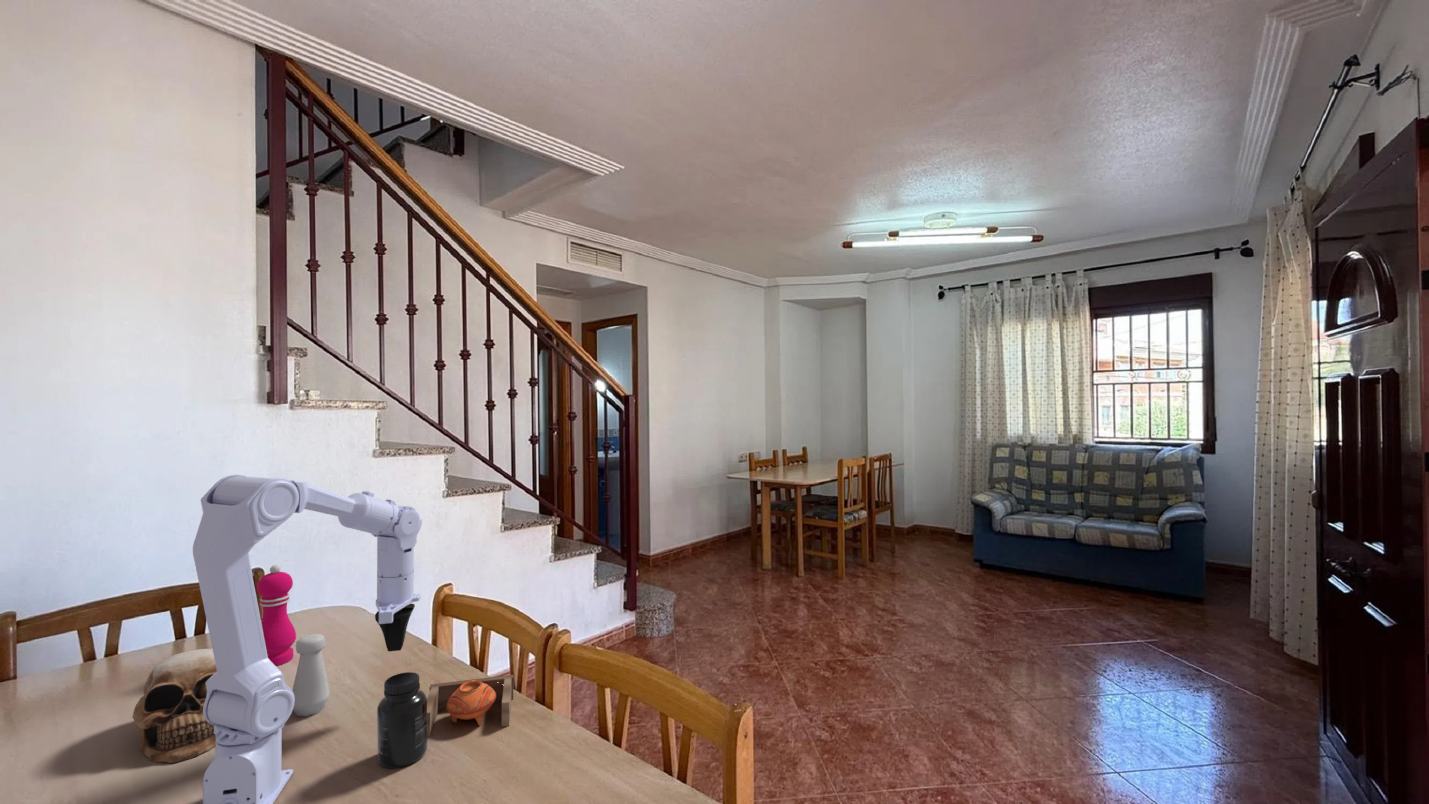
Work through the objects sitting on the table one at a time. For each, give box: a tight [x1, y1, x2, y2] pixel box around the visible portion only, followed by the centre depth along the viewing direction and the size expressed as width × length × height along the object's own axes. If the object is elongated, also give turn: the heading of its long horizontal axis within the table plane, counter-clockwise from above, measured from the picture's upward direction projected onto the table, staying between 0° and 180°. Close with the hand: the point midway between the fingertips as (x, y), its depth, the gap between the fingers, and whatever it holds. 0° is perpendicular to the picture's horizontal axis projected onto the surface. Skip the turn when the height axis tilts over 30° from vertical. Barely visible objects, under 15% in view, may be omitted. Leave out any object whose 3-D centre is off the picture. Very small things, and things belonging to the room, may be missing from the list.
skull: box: [132, 648, 217, 764], centre depth 98 cm, size 16×17×13 cm
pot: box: [446, 679, 496, 727], centre depth 102 cm, size 8×8×7 cm
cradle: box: [427, 674, 514, 738], centre depth 103 cm, size 10×14×4 cm
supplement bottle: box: [376, 671, 428, 769], centre depth 91 cm, size 7×7×12 cm
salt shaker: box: [291, 633, 331, 717], centre depth 104 cm, size 6×6×13 cm
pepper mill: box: [256, 564, 297, 667], centre depth 123 cm, size 7×7×20 cm
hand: (395, 649), depth 105 cm, fingers closed
